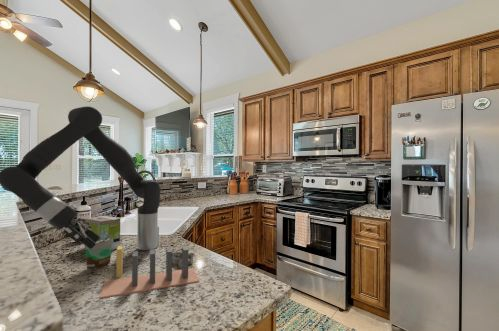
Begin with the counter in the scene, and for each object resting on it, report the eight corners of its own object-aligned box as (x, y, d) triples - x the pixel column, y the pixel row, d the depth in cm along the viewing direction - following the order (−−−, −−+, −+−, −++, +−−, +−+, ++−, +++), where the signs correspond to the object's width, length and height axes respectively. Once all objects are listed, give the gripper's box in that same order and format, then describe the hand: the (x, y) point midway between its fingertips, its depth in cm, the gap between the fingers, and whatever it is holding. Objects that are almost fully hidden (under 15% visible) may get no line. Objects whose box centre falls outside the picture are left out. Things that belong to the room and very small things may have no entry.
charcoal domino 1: (132, 287, 83) (132, 256, 83) (132, 280, 87) (132, 251, 87) (137, 286, 83) (137, 255, 83) (137, 279, 88) (137, 251, 88)
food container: (97, 271, 96) (97, 245, 96) (83, 270, 97) (84, 244, 97) (120, 260, 108) (120, 236, 108) (107, 258, 109) (108, 235, 109)
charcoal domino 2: (150, 284, 85) (150, 254, 85) (149, 278, 89) (150, 249, 90) (155, 283, 85) (155, 253, 86) (154, 277, 90) (154, 249, 90)
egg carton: (195, 263, 105) (195, 253, 105) (180, 268, 100) (180, 258, 100) (181, 257, 113) (181, 247, 113) (165, 261, 107) (165, 252, 107)
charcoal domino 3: (167, 281, 87) (167, 252, 87) (166, 275, 92) (166, 248, 92) (172, 280, 88) (172, 251, 88) (170, 275, 92) (170, 247, 92)
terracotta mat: (99, 298, 76) (99, 297, 76) (105, 281, 87) (105, 280, 87) (199, 281, 88) (199, 280, 88) (193, 268, 99) (193, 267, 99)
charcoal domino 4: (183, 278, 89) (183, 250, 89) (181, 273, 94) (181, 246, 94) (188, 278, 90) (188, 249, 90) (186, 272, 94) (186, 245, 94)
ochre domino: (116, 277, 91) (116, 249, 91) (117, 272, 95) (118, 245, 95) (121, 276, 91) (121, 249, 91) (122, 271, 96) (122, 245, 96)
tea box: (120, 248, 124) (121, 217, 124) (99, 253, 116) (100, 221, 116) (104, 243, 132) (104, 214, 133) (83, 248, 124) (84, 217, 124)
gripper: (60, 207, 81) (101, 240, 85) (72, 202, 94) (107, 230, 98) (39, 226, 79) (82, 258, 83) (54, 217, 92) (91, 245, 96)
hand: (95, 243), depth 91 cm, fingers open, 8 cm apart
